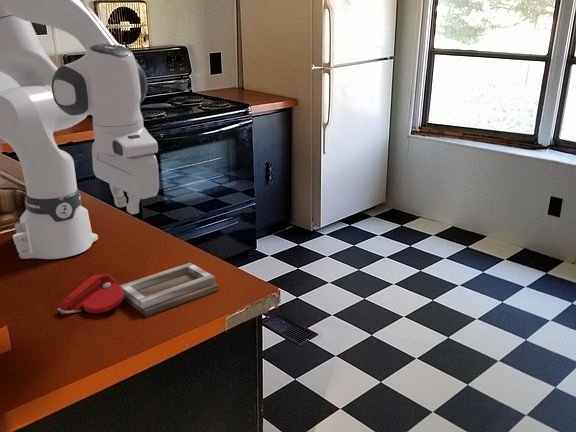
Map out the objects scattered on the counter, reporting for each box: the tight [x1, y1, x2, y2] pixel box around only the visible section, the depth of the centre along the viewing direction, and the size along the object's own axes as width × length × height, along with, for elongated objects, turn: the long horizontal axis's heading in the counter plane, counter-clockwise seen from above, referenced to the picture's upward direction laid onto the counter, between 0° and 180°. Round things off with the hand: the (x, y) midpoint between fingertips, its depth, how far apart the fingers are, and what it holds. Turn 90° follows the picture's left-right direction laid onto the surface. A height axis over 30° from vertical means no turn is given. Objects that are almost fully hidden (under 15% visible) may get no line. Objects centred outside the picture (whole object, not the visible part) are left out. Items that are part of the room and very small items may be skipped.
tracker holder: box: [57, 273, 124, 316], centre depth 119 cm, size 12×4×10 cm
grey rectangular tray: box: [118, 262, 220, 318], centre depth 125 cm, size 12×17×3 cm
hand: (127, 209), depth 114 cm, fingers open, 4 cm apart
